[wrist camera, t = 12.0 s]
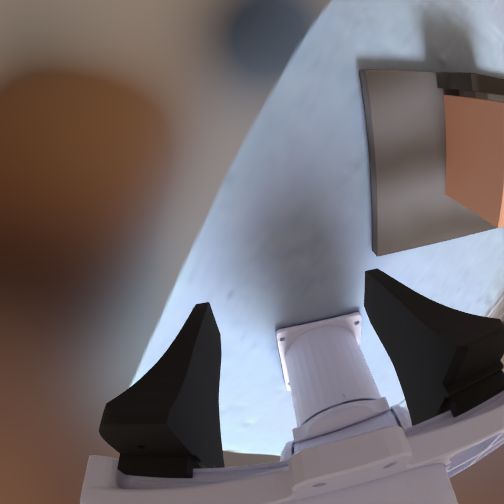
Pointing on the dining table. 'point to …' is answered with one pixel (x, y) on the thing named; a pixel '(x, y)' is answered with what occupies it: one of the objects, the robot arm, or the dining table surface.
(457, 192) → the slotted block
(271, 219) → the dining table surface
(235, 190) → the dining table surface
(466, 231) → the rail board
